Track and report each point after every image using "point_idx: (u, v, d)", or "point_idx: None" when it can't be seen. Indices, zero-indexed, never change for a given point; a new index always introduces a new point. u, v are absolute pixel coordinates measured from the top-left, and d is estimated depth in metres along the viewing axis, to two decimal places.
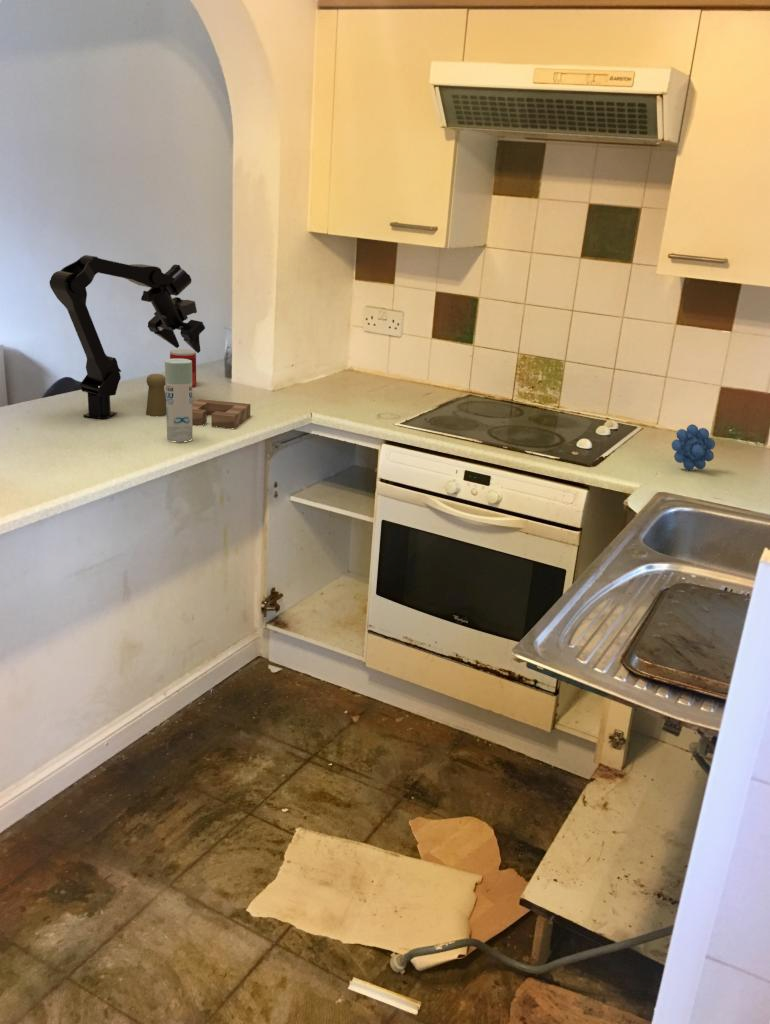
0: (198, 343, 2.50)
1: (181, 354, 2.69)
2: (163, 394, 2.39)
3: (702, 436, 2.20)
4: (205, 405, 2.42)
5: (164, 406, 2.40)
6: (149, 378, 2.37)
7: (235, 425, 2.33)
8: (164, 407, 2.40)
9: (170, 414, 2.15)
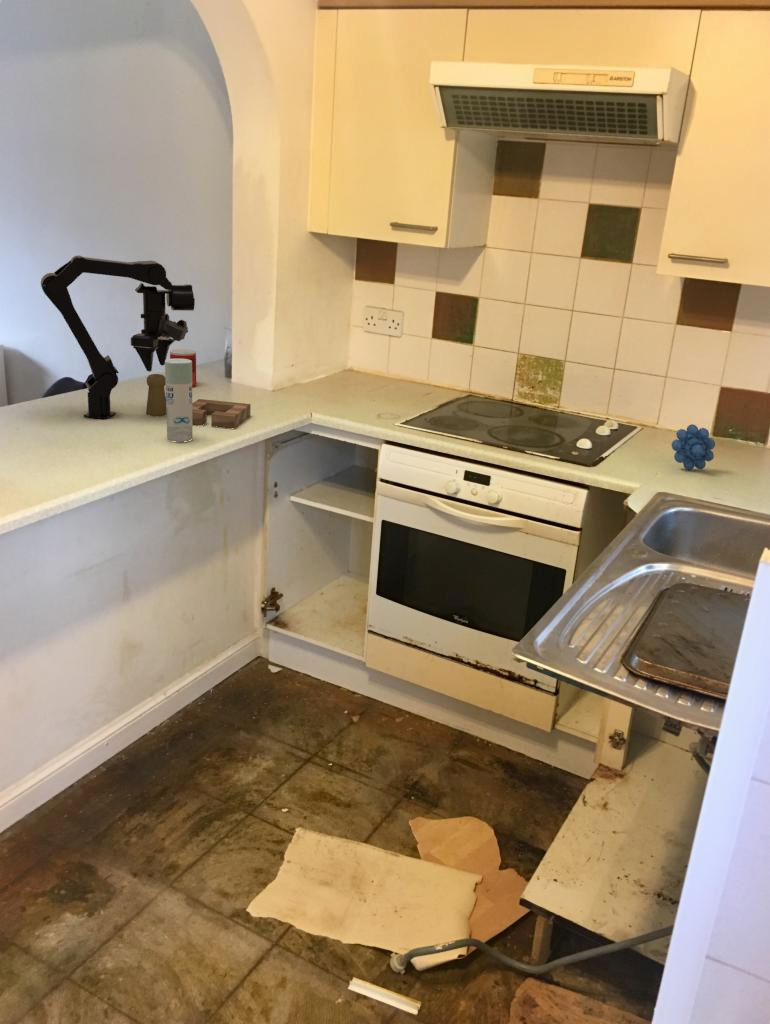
0: (149, 361, 2.31)
1: (181, 354, 2.69)
2: (163, 394, 2.39)
3: (702, 436, 2.20)
4: (205, 405, 2.42)
5: (164, 406, 2.40)
6: (149, 378, 2.37)
7: (235, 425, 2.33)
8: (164, 407, 2.40)
9: (170, 414, 2.15)
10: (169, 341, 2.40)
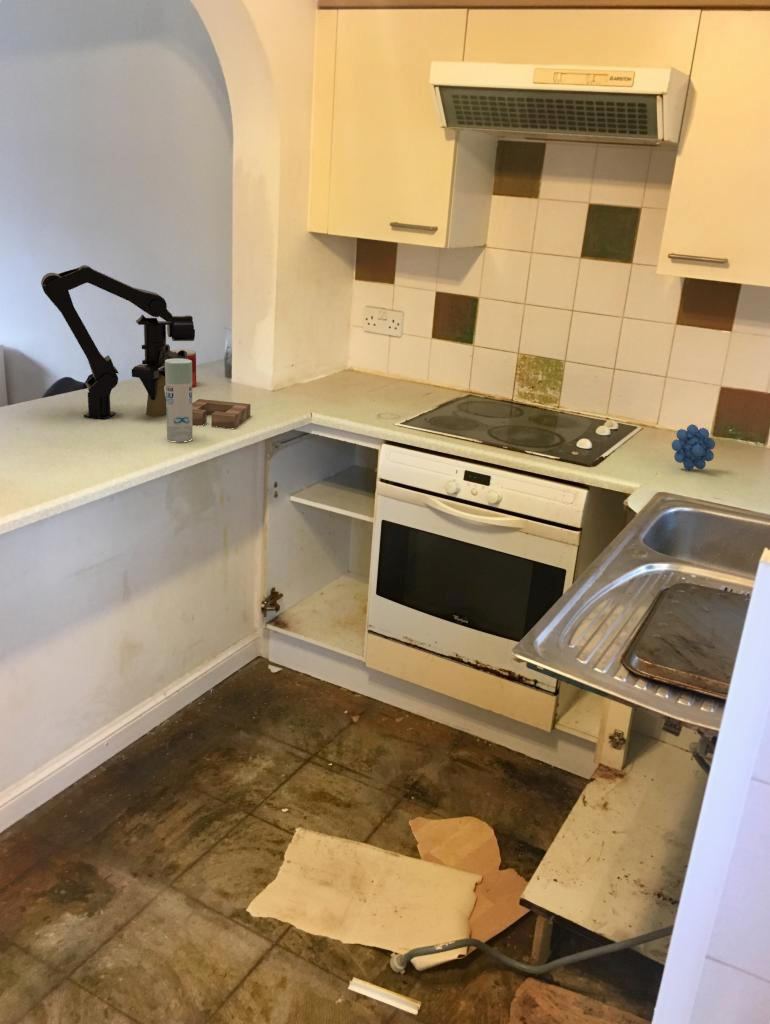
0: (153, 390, 2.36)
1: None
2: (163, 394, 2.39)
3: (702, 436, 2.20)
4: (205, 405, 2.42)
5: (164, 406, 2.40)
6: None
7: (235, 425, 2.33)
8: (164, 407, 2.40)
9: (170, 414, 2.15)
10: None
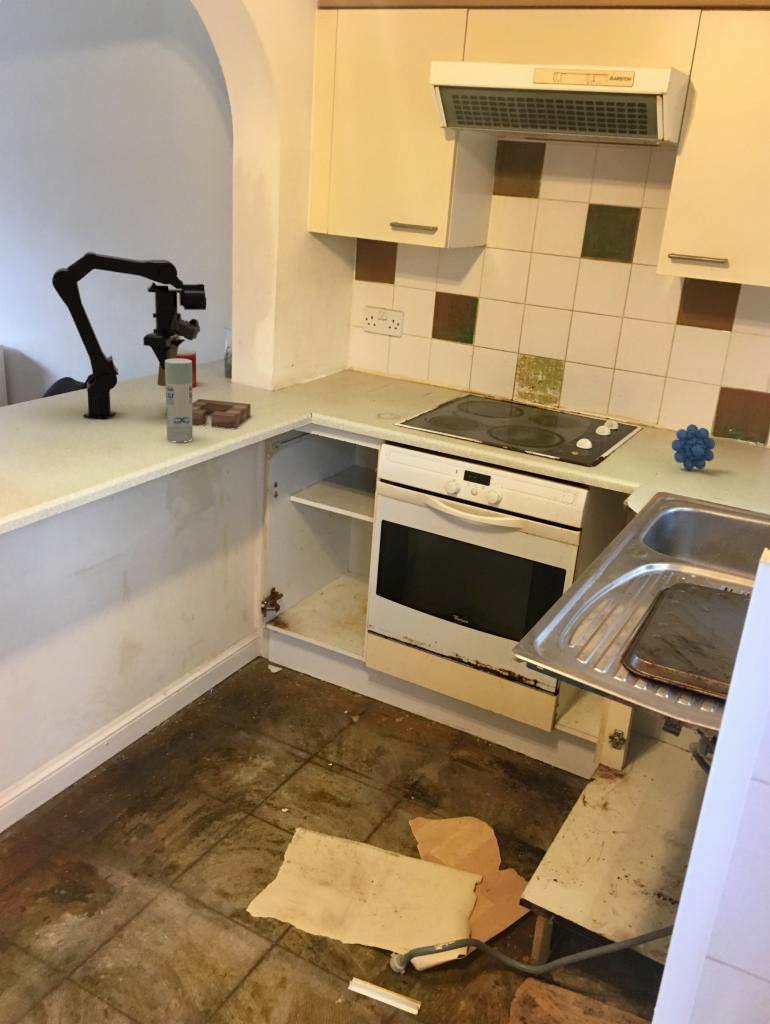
0: (165, 359, 2.33)
1: (181, 354, 2.69)
2: None
3: (702, 436, 2.20)
4: (205, 405, 2.42)
5: None
6: None
7: (235, 425, 2.33)
8: None
9: (170, 414, 2.15)
10: (178, 341, 2.37)
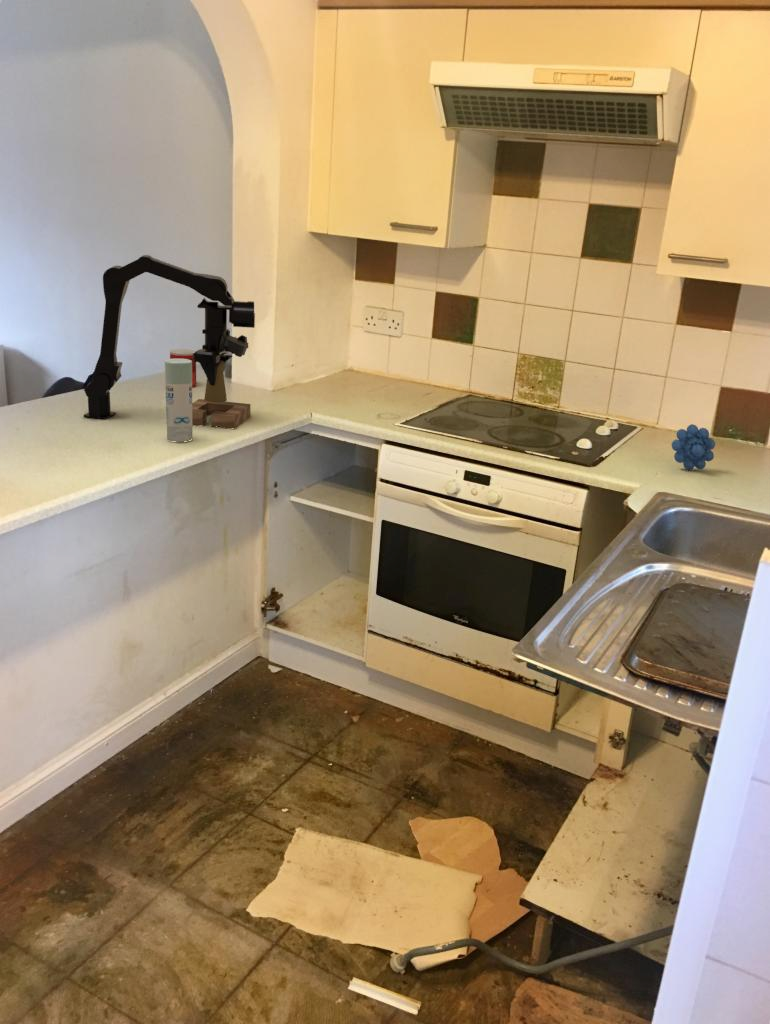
0: (213, 375, 2.32)
1: (181, 354, 2.69)
2: (222, 380, 2.35)
3: (702, 436, 2.20)
4: (205, 405, 2.42)
5: (223, 392, 2.36)
6: None
7: (235, 425, 2.33)
8: (223, 393, 2.36)
9: (170, 414, 2.15)
10: (226, 358, 2.37)
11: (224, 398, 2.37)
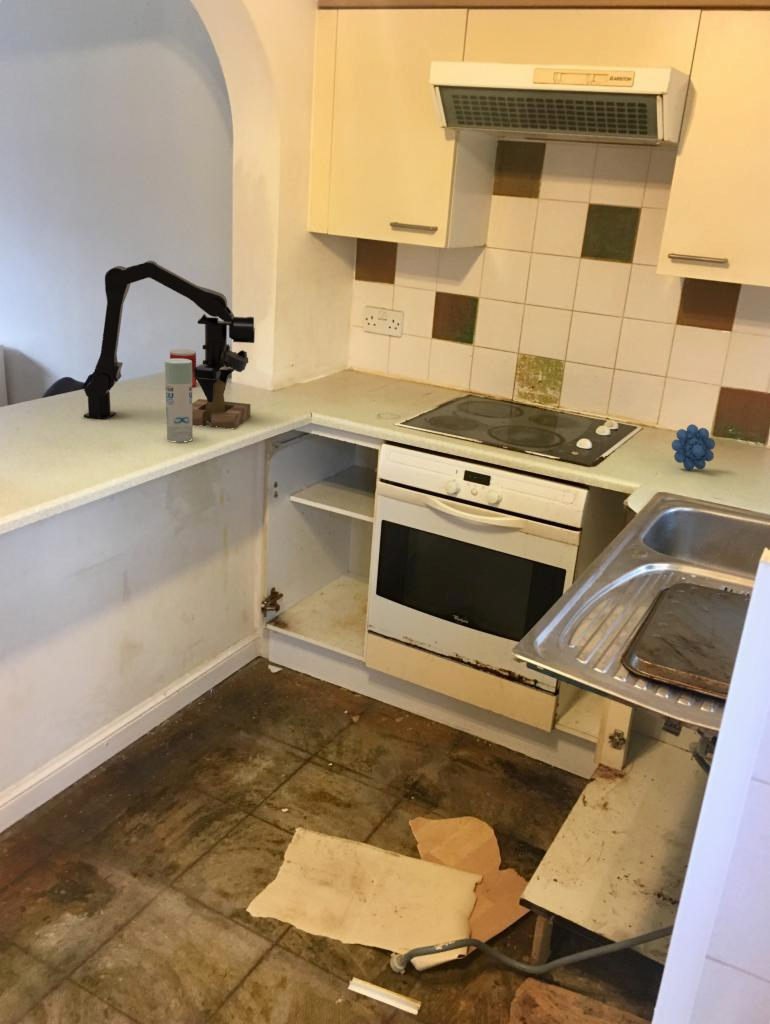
0: (211, 392, 2.32)
1: (181, 354, 2.69)
2: (222, 400, 2.37)
3: (702, 436, 2.20)
4: (205, 405, 2.42)
5: None
6: None
7: (235, 425, 2.33)
8: None
9: (170, 414, 2.15)
10: (229, 371, 2.40)
11: None
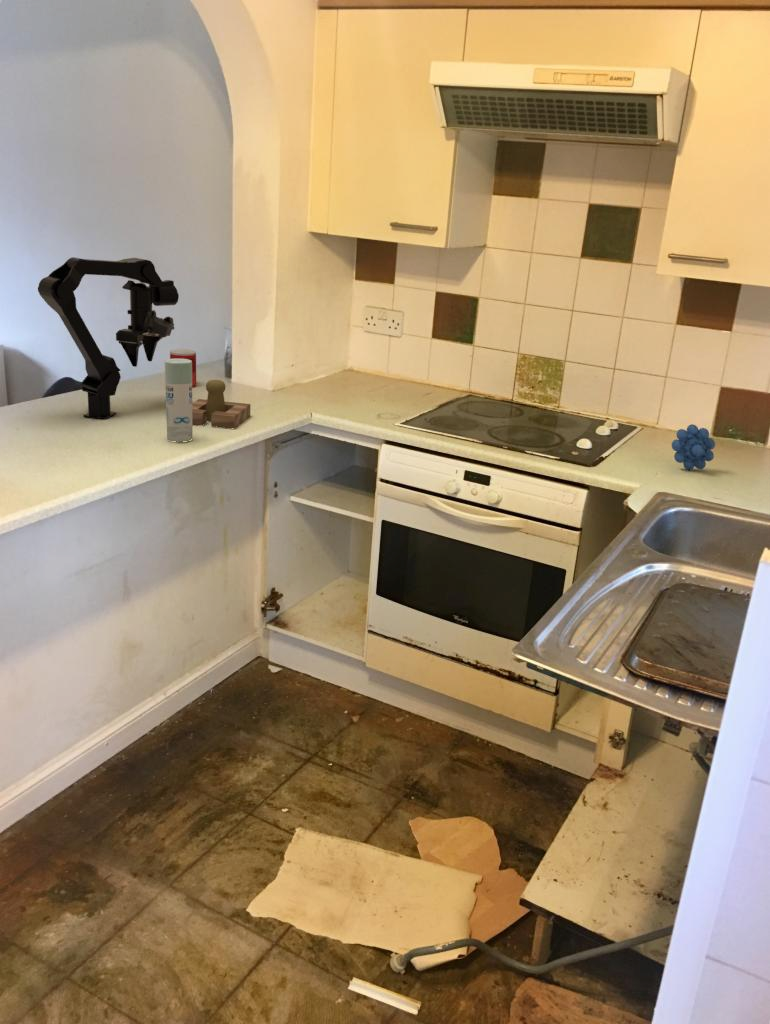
0: (134, 356, 2.35)
1: (181, 354, 2.69)
2: (222, 400, 2.37)
3: (702, 436, 2.20)
4: (205, 405, 2.42)
5: None
6: (209, 384, 2.35)
7: (235, 425, 2.33)
8: None
9: (170, 414, 2.15)
10: (157, 337, 2.44)
11: None
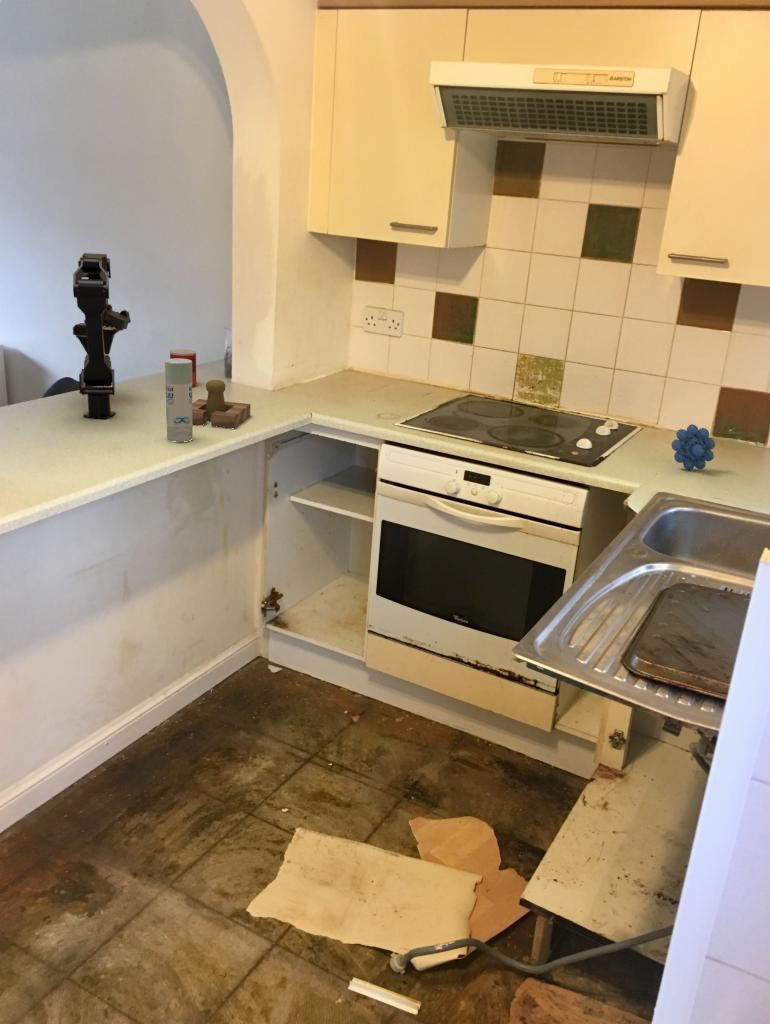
0: None
1: (181, 354, 2.69)
2: (222, 400, 2.37)
3: (702, 436, 2.20)
4: (205, 405, 2.42)
5: None
6: (209, 384, 2.35)
7: (235, 425, 2.33)
8: None
9: (170, 414, 2.15)
10: (113, 331, 2.47)
11: None
